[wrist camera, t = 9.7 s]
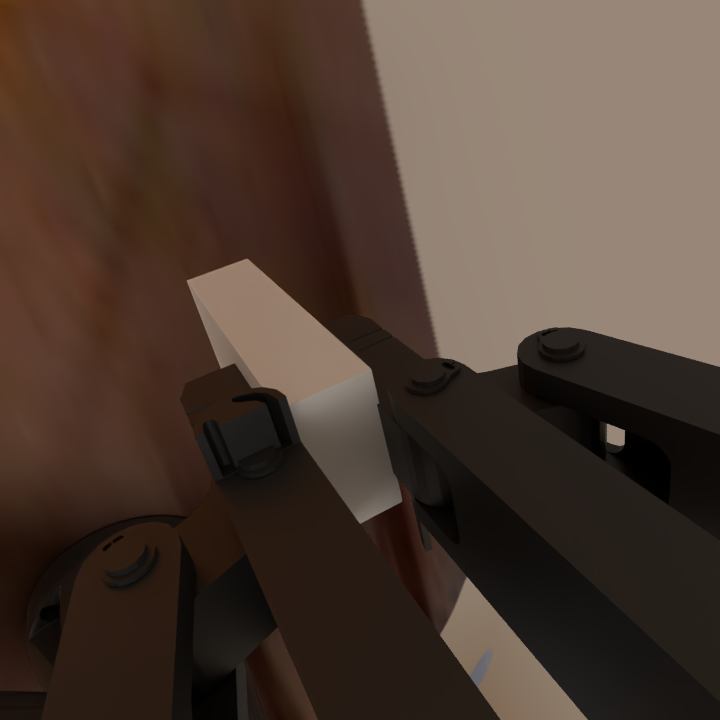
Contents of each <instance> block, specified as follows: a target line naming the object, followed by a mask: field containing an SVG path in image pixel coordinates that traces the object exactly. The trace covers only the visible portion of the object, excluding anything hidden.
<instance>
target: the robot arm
mask: <svg viewBox="0 0 720 720" xmlns="http://www.w3.org/2000/svg"><path fill="white" fill-rule="evenodd" d="M187 283H188V285H189V288H190V290H191V293H192V296H193V298H194V301H195V303H196V306H197V308H198V311H199V314H200V316H201V319H202V321H203V324H204V326H205V329H206V332H207V334H208V337H209V339H210V342H211V344H212V347H213V350H214V352H215V355H216V357H217V360H218V362H219V365H220V368H221V369H219V370H217V371H214V372H212V373H209V374H207V375H205V376H202V377H200V378H197V379H195V380H193V381H190V382H188V383H186V384H185V387H184V390H183V393H182V396H181V399H180V400H181V402H182V405H183V407H184V409H185V412H186V414H187V416H188V419H189V421H190V423H191V426H192V428H193V430H194V433H195V438H196V440H197V442H198V445H199V447H200V449H201V451H202V454H203V456H204V458H205V460H206V463H207V465H208V467H209V469H210V472H211V474H212V483H211V488H210V490H209V492H208V494H207V496H206V498H205V500H204V501H203V502H202V504H201V505H200V506H199V507H198V509H197V510H195V511H194V512H193V513H192V514H191V515H190V516H189V517H188V518H186V519H185V518H179V517H167V516H158V517H145V518H138V519H133V520H129V521H125V522H121V523H118V524H115V525H112V526H109V527H107V528H104V529H102V530H100V531H97V532H95V533H93V534H91V535H89V536H87V537H86V538H84V539H82V540H80V541H79V542H77V543H76V544H74V545H73V546H72V547H70V548H69V549H68V550H66V551H65V552H64V553H63V554H61V555H60V556H59V557H58V558H57V559H56V560H55V561H54V562H53V563H52V564H51V565H50V566H49V567H48V568H47V570H46V571H45V572H44V573H43V575H42V576H41V578H40V579H39V581H38V582H37V584H36V586H35V588H34V590H33V592H32V594H31V597H30V600H29V603H28V607H27V616H26V648H27V653H28V657H29V660H30V663H31V665H32V667H33V669H34V671H35V673H36V676H37V678H38V680H39V682H40V684H41V686H42V688H43V690H44V692H23V691H0V720H268V719H267V716H266V714H265V711H264V708H263V705H262V702H261V700H260V697H259V694H258V691H257V688H256V686H255V683H254V680H253V677H252V674H251V671H250V669H249V666H248V663H247V660H246V657H247V656H248V655H249V654H250V653H251V652H252V651H253V650H254V649H255V648H256V647H257V646H258V645H259V644H260V643H261V642H262V641H263V640H264V639H265V638H267V637H268V636H269V635H270V634H271V633H272V632H273V631H274V630H275V629H276V628H277V627H278V628H279V631H280V633H281V635H282V637H283V640H284V642H285V644H286V647H287V649H288V651H289V654H290V656H291V658H292V661H293V663H294V665H295V667H296V670H297V672H298V674H299V677H300V679H301V681H302V684H303V686H304V688H305V691H306V693H307V695H308V697H309V700H310V702H311V704H312V707H313V709H314V711H315V714H316V716H317V718H318V720H500V718H499V717H498V716H497V714H496V713H495V712H494V710H493V709H492V707H491V706H490V705H489V703H488V702H487V700H486V699H485V698H484V696H483V695H482V693H481V692H480V691H479V689H478V688H477V686H476V685H475V684H474V682H473V681H472V679H471V678H470V677H469V675H468V674H467V672H466V671H465V670H464V668H463V667H462V665H461V664H460V663H459V661H458V660H457V658H456V657H455V656H454V655H453V653H452V651H451V650H450V649H449V647H448V646H447V645H446V643H445V642H444V640H443V639H442V638H441V636H440V635H439V633H438V632H437V631H436V629H435V628H434V626H433V625H432V624H431V622H430V621H429V619H428V618H427V617H426V615H425V614H424V612H423V611H422V610H421V608H420V607H419V605H418V604H417V603H416V601H415V600H414V598H413V597H412V596H411V594H410V593H409V591H408V590H407V589H406V587H405V586H404V584H403V583H402V582H401V580H400V579H399V577H398V576H397V575H396V573H395V572H394V570H393V569H392V568H391V566H390V565H389V564H388V562H387V561H386V559H385V558H384V557H383V555H382V554H381V552H380V551H379V550H378V548H377V547H376V545H375V544H374V543H373V541H372V540H371V538H370V537H369V536H368V534H367V533H366V531H365V530H364V529H363V527H362V526H361V524H360V523H362V522H364V521H366V520H368V519H370V518H372V517H374V516H376V515H377V514H379V513H381V512H383V511H385V510H387V509H389V508H391V507H393V506H395V505H396V504H398V503H400V502H402V497H401V493H400V488H399V484H398V480H397V478H398V479H399V480H400V481H401V482H402V483H403V484H404V486H405V487H406V488H407V489H408V490H409V491H410V492H411V497H412V501H413V506H414V510H415V515H416V519H417V523H418V528H419V532H420V537H421V541H422V544H423V546H424V548H425V550H426V552H427V551H429V550H431V549H432V546H431V541H430V537H429V532H430V533H431V534H432V536H433V537H434V538H435V539H436V540H437V541H438V543H439V544H440V545H441V546H442V547H443V549H444V550H445V551H446V552H447V553H448V554H449V556H450V557H451V558H452V559H453V560H454V562H455V563H456V564H457V565H458V566H459V568H460V569H461V570H462V571H463V572H464V573H465V575H466V576H467V577H468V578H469V579H470V581H471V582H472V583H473V584H474V585H475V586H476V588H477V589H478V590H479V591H480V592H481V594H482V595H483V596H484V597H485V598H486V599H487V600H488V602H489V603H490V604H491V605H492V606H493V608H494V609H495V610H496V611H497V613H498V614H499V615H500V616H501V617H502V618H503V620H504V621H505V622H506V623H507V624H508V626H509V627H510V628H511V629H512V630H513V631H514V633H515V634H516V635H517V636H518V637H519V638H520V640H521V641H522V642H523V643H524V644H525V646H526V647H527V648H528V649H529V650H530V652H531V653H532V654H533V655H534V656H535V658H536V659H537V660H538V661H539V662H540V663H541V665H542V666H543V667H544V668H545V669H546V671H547V672H548V673H549V674H550V675H551V676H552V678H553V679H554V680H555V681H556V682H557V683H558V685H559V686H560V687H561V688H562V689H563V691H564V692H565V693H566V694H567V695H568V696H569V698H570V699H571V700H572V701H573V702H574V704H575V705H576V706H577V707H578V708H579V709H580V711H581V712H582V713H583V714H584V716H585V717H586V718H587V719H588V720H720V367H718V366H714V365H710V364H707V363H703V362H699V361H696V360H692V359H689V358H685V357H682V356H678V355H674V354H671V353H667V352H663V351H660V350H656V349H652V348H649V347H645V346H642V345H638V344H634V343H631V342H627V341H624V340H620V339H616V338H613V337H609V336H605V335H602V334H598V333H595V332H591V331H587V330H582V329H576V328H570V327H569V328H550V329H547V330H542V331H539V332H536V333H534V334H532V335H530V336H528V337H526V338H525V339H524V340H523V341H522V342H521V343H520V344H519V346H518V352H517V358H518V365H514V366H509V367H505V368H501V369H497V370H493V371H488V372H483V373H476V372H474V371H473V370H471V369H470V368H469V367H467V366H466V365H464V364H462V363H460V362H457V361H455V360H451V359H444V358H432V359H423V358H422V357H421V356H419V355H418V354H417V353H415V352H414V351H412V350H411V349H410V348H408V347H407V346H406V345H404V344H403V343H402V342H400V341H399V340H398V339H396V338H393V336H392V335H391V334H390V333H388V332H387V331H385V330H382V328H381V327H380V326H379V325H377V324H376V323H375V322H373V321H372V320H371V319H369V318H366V317H361V316H357V315H352V314H347V315H345V316H342V317H340V318H337V319H335V320H333V321H330V322H328V323H325V324H323V325H321V324H320V323H319V322H318V321H317V320H316V319H315V318H314V317H312V316H311V315H310V314H309V313H308V312H307V311H306V310H305V309H303V308H302V307H301V306H300V305H299V304H298V303H297V302H296V301H294V300H293V299H292V298H291V297H290V296H289V295H288V294H287V293H285V292H284V291H283V290H282V289H281V288H280V287H279V286H278V285H276V284H275V283H274V282H273V281H272V280H271V279H270V278H269V277H267V276H266V275H265V274H264V273H263V272H262V271H261V270H260V269H258V268H257V267H256V266H255V265H254V264H253V263H252V262H251V261H249V260H248V259H245V260H242V261H239V262H236V263H234V264H231V265H228V266H225V267H223V268H220V269H217V270H214V271H212V272H209V273H206V274H204V275H201V276H198V277H195V278H193V279H190V280H187ZM607 424H610V425H613V426H615V427H618V428H620V429H623V430H625V444H624V446H617V445H613V444H610V443H608V442H607Z"/></svg>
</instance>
